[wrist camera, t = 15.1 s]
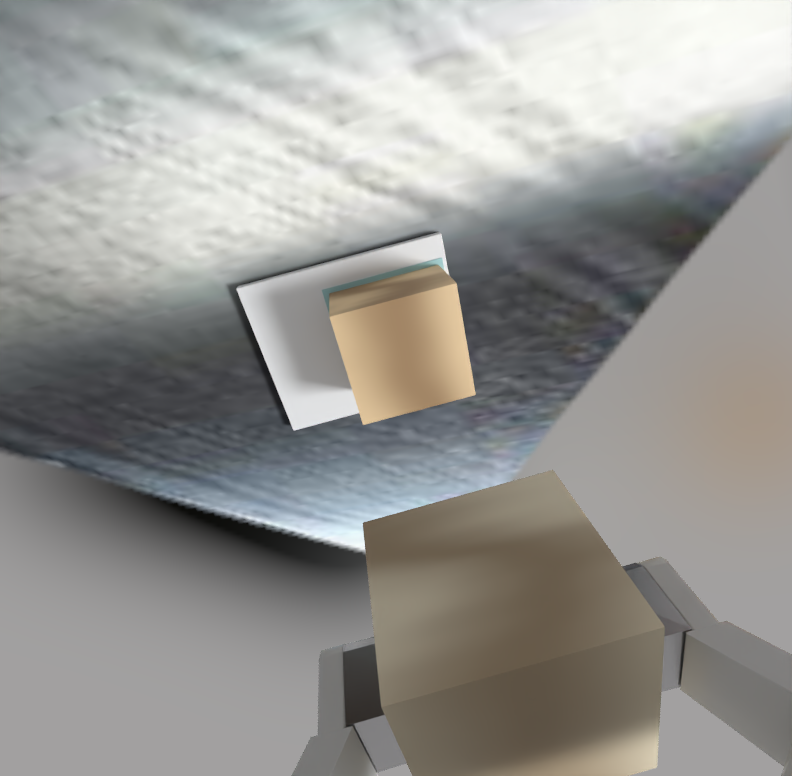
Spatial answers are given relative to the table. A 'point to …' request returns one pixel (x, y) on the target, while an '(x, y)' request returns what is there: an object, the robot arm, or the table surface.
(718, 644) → the robot arm
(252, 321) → the plate
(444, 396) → the oak block
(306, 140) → the table surface
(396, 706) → the maple block
